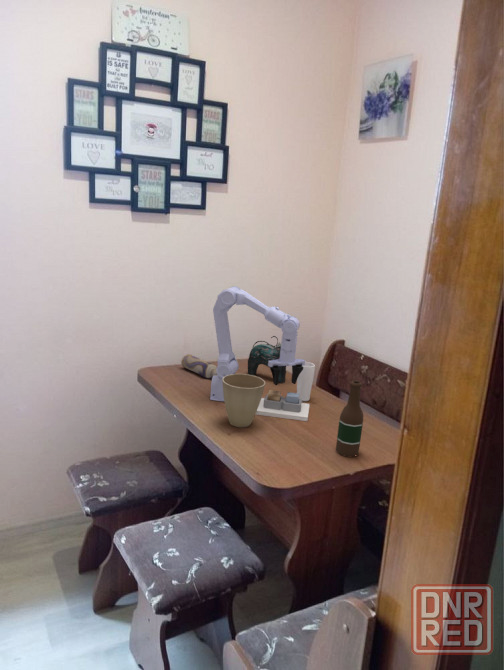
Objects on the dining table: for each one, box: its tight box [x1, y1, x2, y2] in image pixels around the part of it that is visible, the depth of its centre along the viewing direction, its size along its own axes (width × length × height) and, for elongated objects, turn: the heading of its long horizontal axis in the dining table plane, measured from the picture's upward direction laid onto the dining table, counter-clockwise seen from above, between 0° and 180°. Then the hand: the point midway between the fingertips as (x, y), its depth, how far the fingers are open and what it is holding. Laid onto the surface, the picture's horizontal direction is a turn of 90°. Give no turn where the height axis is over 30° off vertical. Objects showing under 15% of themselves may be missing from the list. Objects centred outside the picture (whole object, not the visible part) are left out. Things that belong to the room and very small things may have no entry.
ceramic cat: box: [247, 335, 287, 385], centre depth 237 cm, size 20×6×20 cm, turn 58°
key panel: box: [255, 393, 310, 422], centre depth 204 cm, size 20×14×4 cm
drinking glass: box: [296, 361, 316, 402], centre depth 216 cm, size 7×7×15 cm
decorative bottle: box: [180, 353, 217, 379], centre depth 237 cm, size 26×8×7 cm, turn 44°
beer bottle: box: [335, 380, 364, 457], centre depth 171 cm, size 8×8×24 cm
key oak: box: [267, 389, 282, 401], centre depth 203 cm, size 4×4×2 cm
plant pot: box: [222, 373, 266, 428], centre depth 188 cm, size 15×15×16 cm
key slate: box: [286, 391, 299, 404], centre depth 202 cm, size 4×4×2 cm
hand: (284, 383), depth 204 cm, fingers open, 7 cm apart
